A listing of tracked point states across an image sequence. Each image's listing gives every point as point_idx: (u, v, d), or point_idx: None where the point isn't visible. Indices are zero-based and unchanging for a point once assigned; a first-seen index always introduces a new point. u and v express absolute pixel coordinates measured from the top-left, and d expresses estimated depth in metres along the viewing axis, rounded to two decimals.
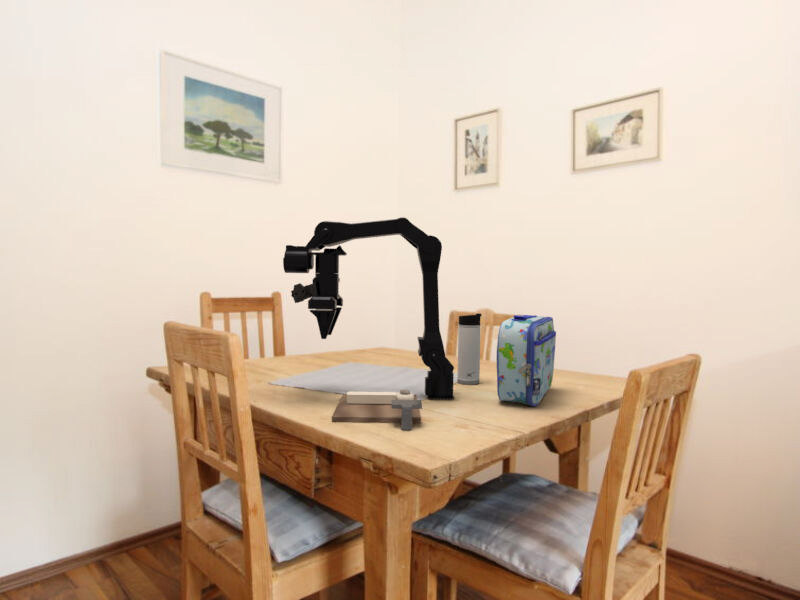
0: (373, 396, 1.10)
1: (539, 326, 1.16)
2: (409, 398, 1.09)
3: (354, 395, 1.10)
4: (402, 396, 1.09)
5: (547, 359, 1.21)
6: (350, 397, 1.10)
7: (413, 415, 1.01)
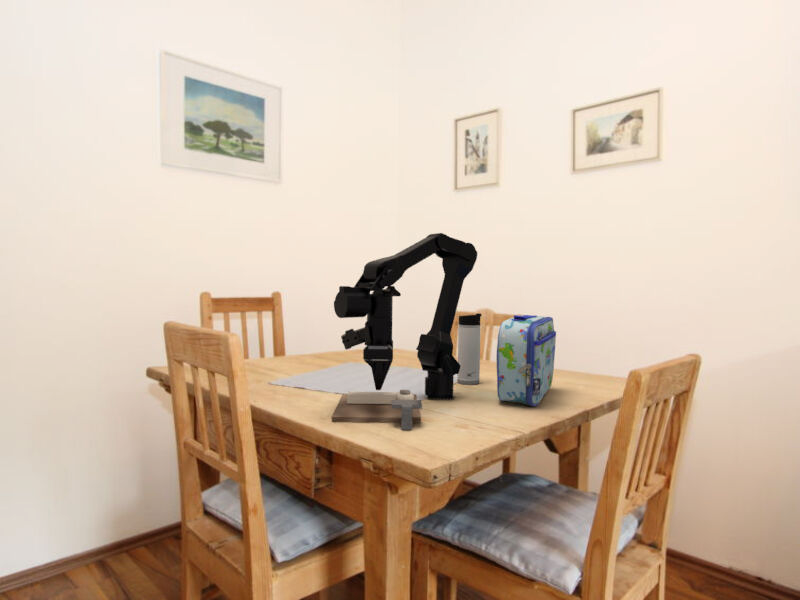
0: (373, 396, 1.10)
1: (539, 326, 1.16)
2: (409, 398, 1.09)
3: (354, 395, 1.10)
4: (402, 396, 1.09)
5: (547, 359, 1.21)
6: (350, 397, 1.10)
7: (413, 415, 1.01)
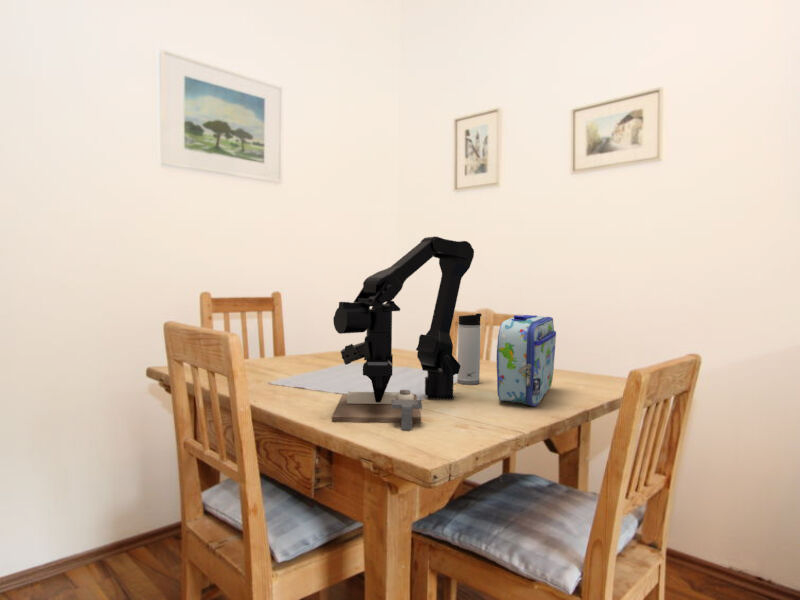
0: (373, 396, 1.10)
1: (539, 326, 1.16)
2: (409, 398, 1.09)
3: (354, 395, 1.10)
4: (402, 396, 1.09)
5: (547, 359, 1.21)
6: (350, 397, 1.10)
7: (413, 415, 1.01)
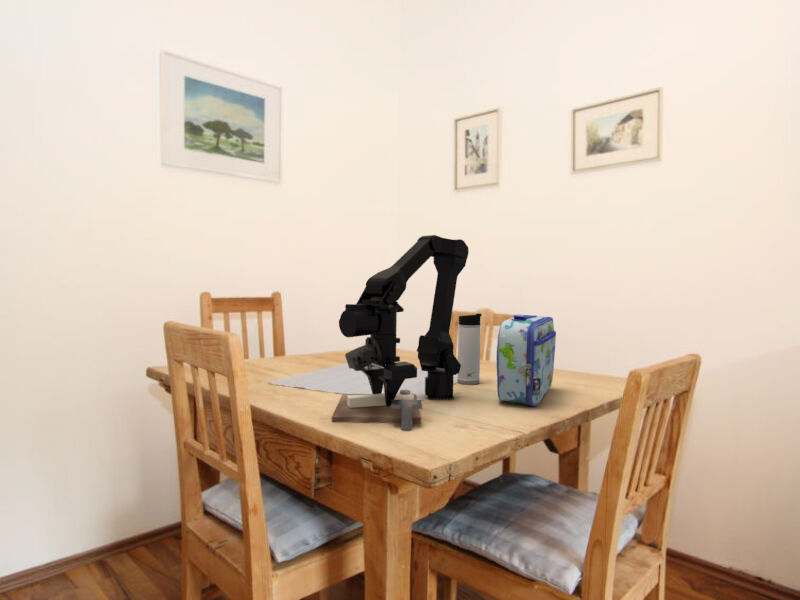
0: (376, 398, 1.08)
1: (539, 326, 1.16)
2: (411, 397, 1.10)
3: (357, 398, 1.06)
4: (405, 396, 1.09)
5: (547, 359, 1.21)
6: (353, 401, 1.06)
7: (413, 415, 1.01)
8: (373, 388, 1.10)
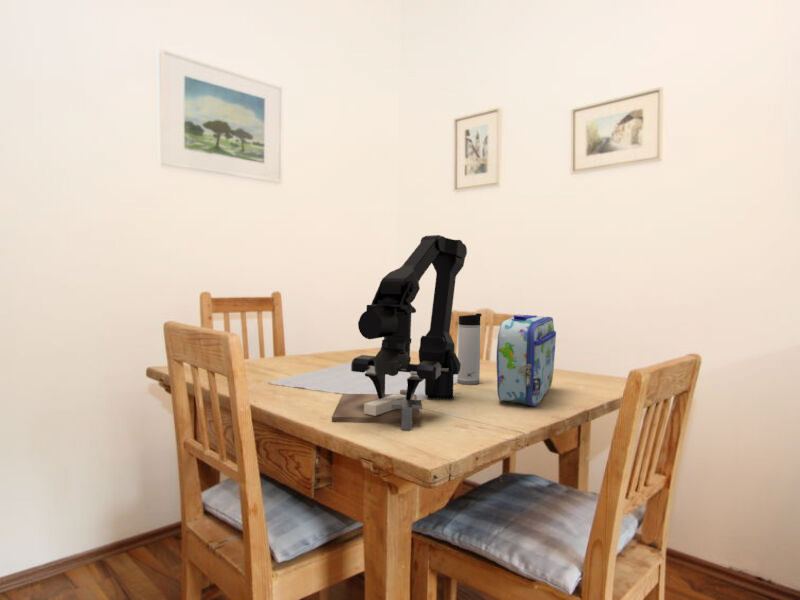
0: None
1: (539, 326, 1.16)
2: (413, 396, 1.11)
3: (380, 405, 1.01)
4: None
5: (547, 359, 1.21)
6: (378, 408, 1.00)
7: (413, 415, 1.01)
8: (381, 392, 1.06)
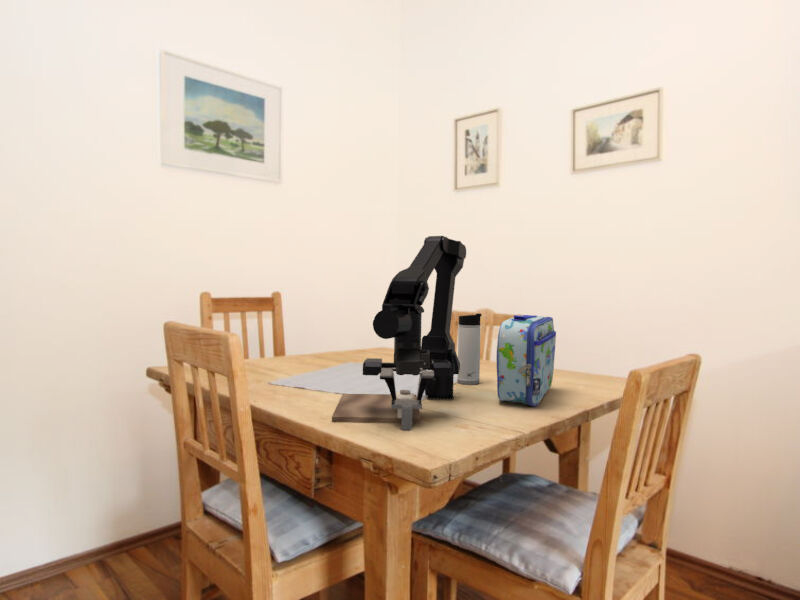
0: None
1: (539, 326, 1.16)
2: None
3: None
4: (413, 395, 1.11)
5: (547, 359, 1.21)
6: None
7: (413, 415, 1.01)
8: (395, 395, 1.04)
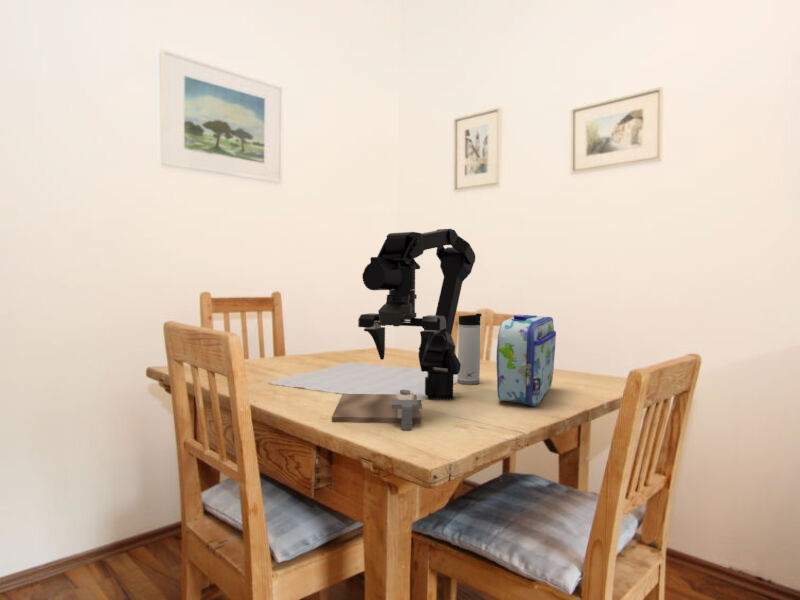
0: None
1: (539, 326, 1.16)
2: None
3: None
4: (413, 395, 1.11)
5: (547, 359, 1.21)
6: None
7: (413, 415, 1.01)
8: (380, 347, 1.09)
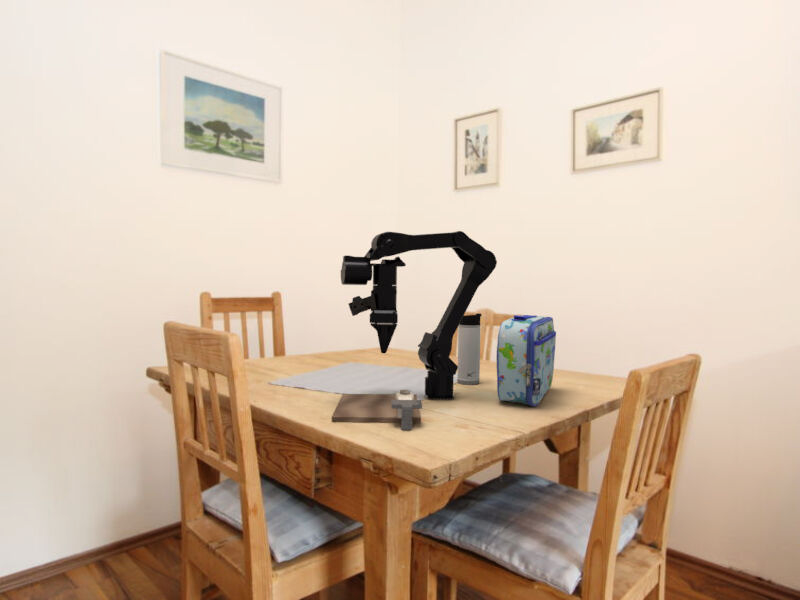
0: None
1: (539, 326, 1.16)
2: None
3: None
4: (413, 395, 1.11)
5: (547, 359, 1.21)
6: None
7: (413, 415, 1.01)
8: None
